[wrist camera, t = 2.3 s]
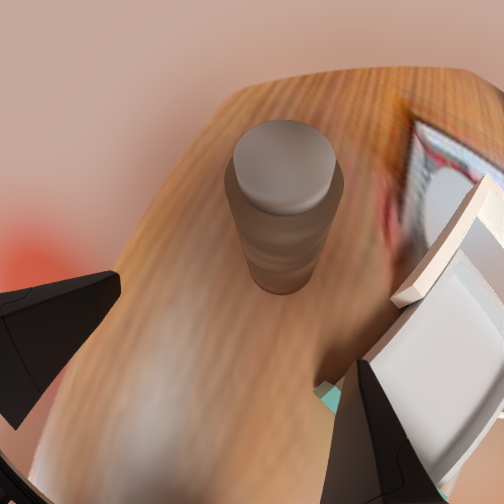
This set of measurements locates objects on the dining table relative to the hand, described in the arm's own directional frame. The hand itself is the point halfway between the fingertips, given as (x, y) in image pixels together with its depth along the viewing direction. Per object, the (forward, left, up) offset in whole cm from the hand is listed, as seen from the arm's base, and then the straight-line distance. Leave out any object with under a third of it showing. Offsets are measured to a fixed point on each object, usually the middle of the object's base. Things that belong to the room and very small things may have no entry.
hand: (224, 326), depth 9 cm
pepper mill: (+3, +6, -13) cm, 14 cm away
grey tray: (+14, -7, -12) cm, 20 cm away
